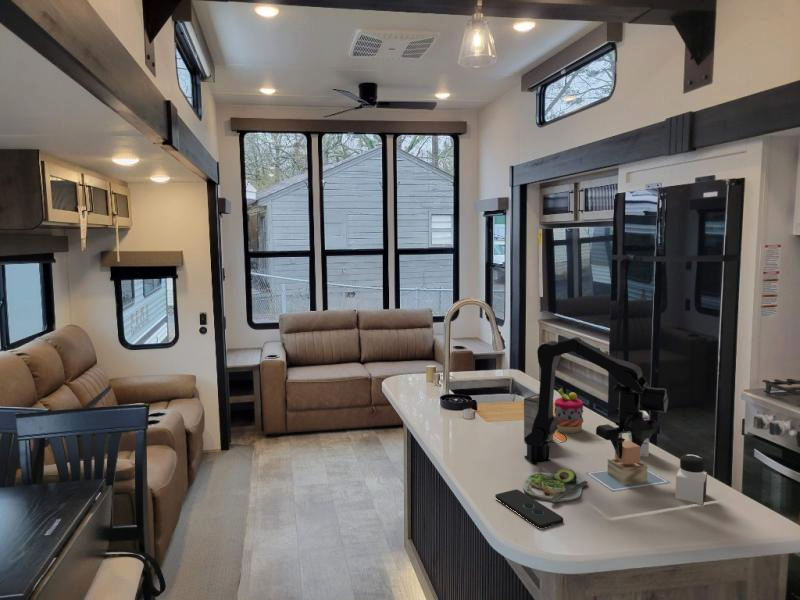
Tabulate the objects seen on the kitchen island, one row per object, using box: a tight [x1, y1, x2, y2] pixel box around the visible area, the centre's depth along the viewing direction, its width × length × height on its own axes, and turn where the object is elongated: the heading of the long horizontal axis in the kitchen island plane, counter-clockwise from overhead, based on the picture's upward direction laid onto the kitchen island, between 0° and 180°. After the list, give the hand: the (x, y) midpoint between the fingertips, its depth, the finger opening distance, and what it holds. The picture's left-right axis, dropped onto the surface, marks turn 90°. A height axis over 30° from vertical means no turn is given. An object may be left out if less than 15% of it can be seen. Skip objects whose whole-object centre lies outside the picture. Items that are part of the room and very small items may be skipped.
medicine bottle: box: [674, 454, 708, 506], centre depth 167 cm, size 7×7×12 cm
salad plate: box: [522, 468, 589, 503], centre depth 174 cm, size 19×18×5 cm
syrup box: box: [627, 409, 650, 458], centre depth 200 cm, size 6×6×14 cm
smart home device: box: [494, 489, 564, 529], centre depth 163 cm, size 8×2×20 cm
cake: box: [553, 388, 584, 434], centre depth 226 cm, size 10×11×15 cm
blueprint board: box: [584, 469, 672, 493], centre depth 181 cm, size 20×14×1 cm
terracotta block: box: [614, 440, 641, 465], centre depth 180 cm, size 5×5×5 cm
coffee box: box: [523, 393, 554, 443], centre depth 214 cm, size 9×6×16 cm
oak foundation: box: [607, 457, 649, 485], centre depth 181 cm, size 8×8×5 cm
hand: (627, 457), depth 180 cm, fingers closed on terracotta block, 5 cm apart
